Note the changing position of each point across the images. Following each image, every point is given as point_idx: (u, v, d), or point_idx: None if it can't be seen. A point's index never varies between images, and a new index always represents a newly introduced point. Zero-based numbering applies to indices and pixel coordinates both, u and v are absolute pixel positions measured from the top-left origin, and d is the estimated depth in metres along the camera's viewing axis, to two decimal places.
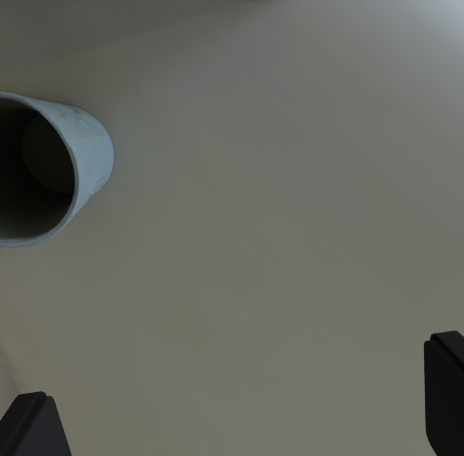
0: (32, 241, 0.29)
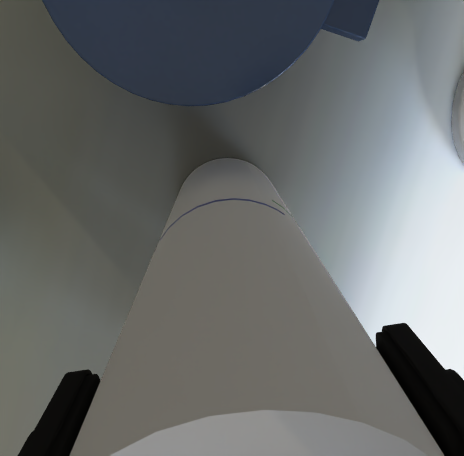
0: None
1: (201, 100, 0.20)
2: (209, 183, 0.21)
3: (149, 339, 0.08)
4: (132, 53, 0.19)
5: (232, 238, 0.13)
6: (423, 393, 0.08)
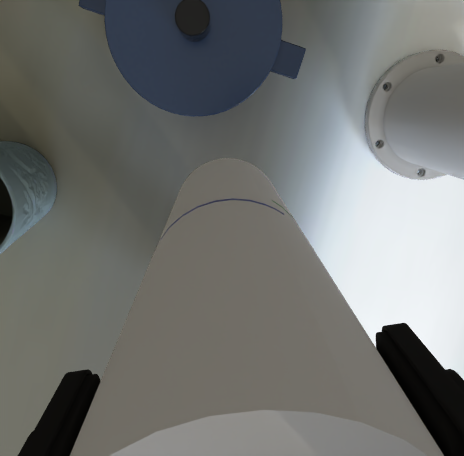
0: None
1: (200, 113, 0.35)
2: (209, 183, 0.22)
3: (149, 340, 0.08)
4: (162, 86, 0.34)
5: (232, 239, 0.13)
6: (423, 393, 0.08)
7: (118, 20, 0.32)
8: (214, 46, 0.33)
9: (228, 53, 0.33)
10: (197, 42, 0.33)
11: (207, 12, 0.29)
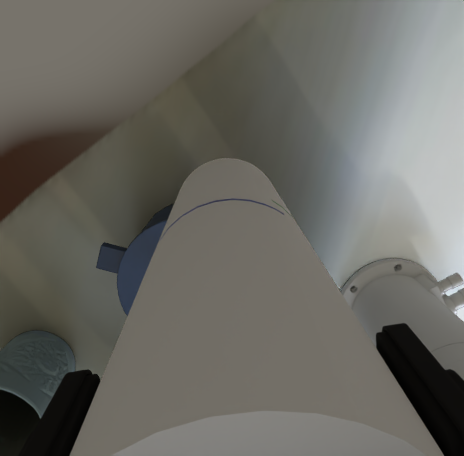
0: None
1: None
2: (209, 183, 0.21)
3: (149, 339, 0.08)
4: None
5: (232, 238, 0.13)
6: (423, 393, 0.08)
7: (128, 284, 0.40)
8: None
9: None
10: None
11: None
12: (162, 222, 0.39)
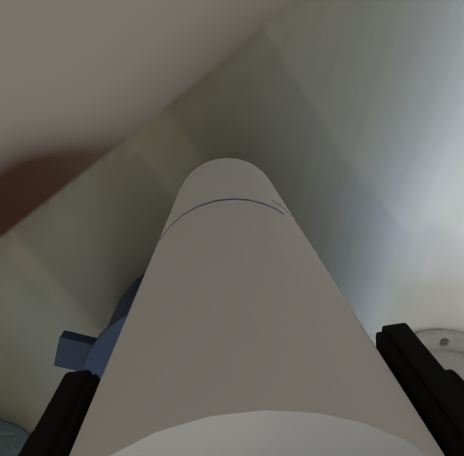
0: None
1: None
2: (209, 183, 0.21)
3: (148, 339, 0.08)
4: None
5: (232, 238, 0.13)
6: (423, 393, 0.08)
7: None
8: None
9: None
10: None
11: None
12: None
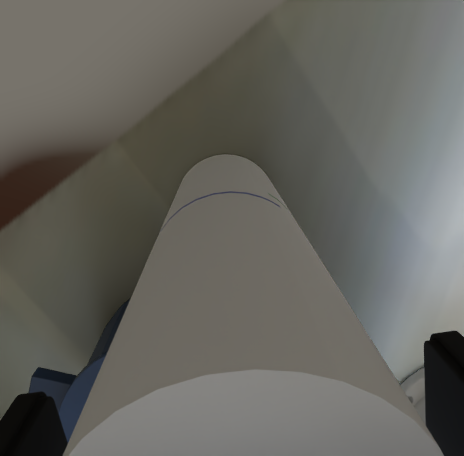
0: None
1: None
2: (208, 178, 0.22)
3: (150, 316, 0.09)
4: None
5: (229, 227, 0.13)
6: None
7: None
8: None
9: None
10: None
11: None
12: None
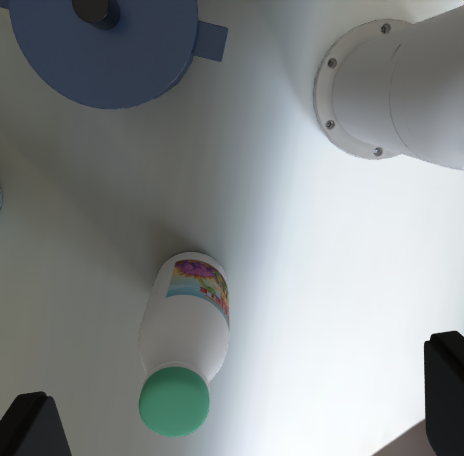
0: None
1: (122, 105, 0.33)
2: None
3: None
4: (78, 80, 0.32)
5: None
6: None
7: (24, 14, 0.31)
8: (127, 33, 0.31)
9: (143, 39, 0.32)
10: (109, 30, 0.31)
11: None
12: None
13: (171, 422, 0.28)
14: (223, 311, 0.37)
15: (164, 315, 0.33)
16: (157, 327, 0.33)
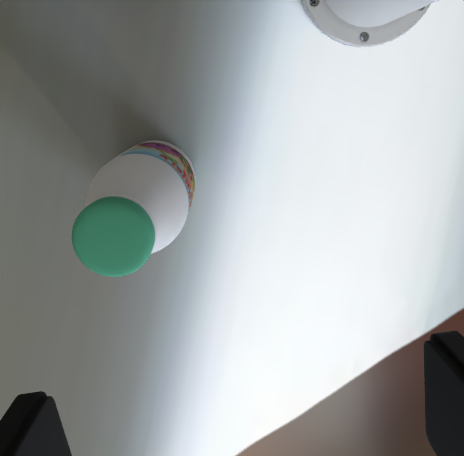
0: None
1: None
2: None
3: None
4: None
5: None
6: None
7: None
8: None
9: None
10: None
11: None
12: None
13: (108, 256, 0.25)
14: (184, 180, 0.33)
15: (115, 165, 0.30)
16: (105, 175, 0.29)
